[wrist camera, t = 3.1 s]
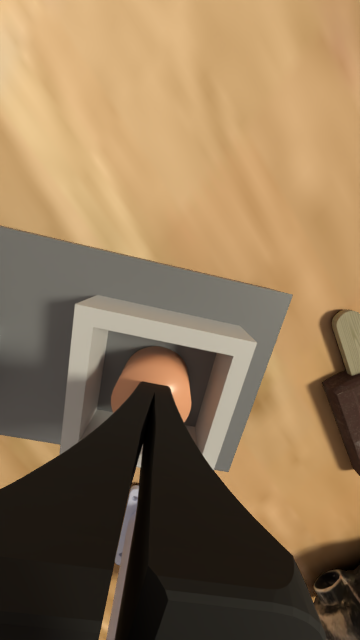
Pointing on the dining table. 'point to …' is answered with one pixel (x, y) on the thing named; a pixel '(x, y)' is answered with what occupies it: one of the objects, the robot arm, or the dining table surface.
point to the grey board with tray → (124, 339)
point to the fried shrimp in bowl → (339, 603)
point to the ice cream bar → (347, 383)
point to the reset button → (155, 377)
